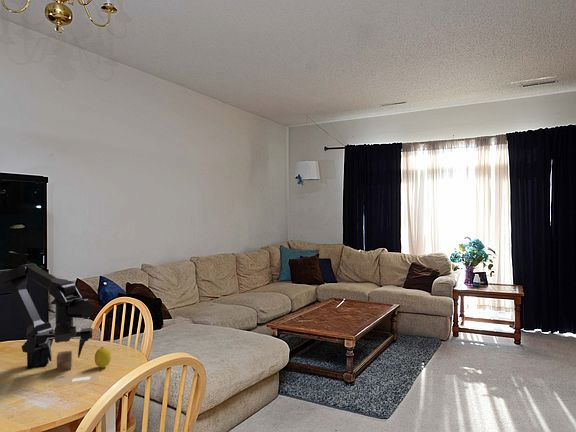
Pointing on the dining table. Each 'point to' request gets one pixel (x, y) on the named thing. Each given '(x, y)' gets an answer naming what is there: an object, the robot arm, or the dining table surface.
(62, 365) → the walnut block
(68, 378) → the envelope
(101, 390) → the dining table surface
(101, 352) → the lemon
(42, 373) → the dining table surface
